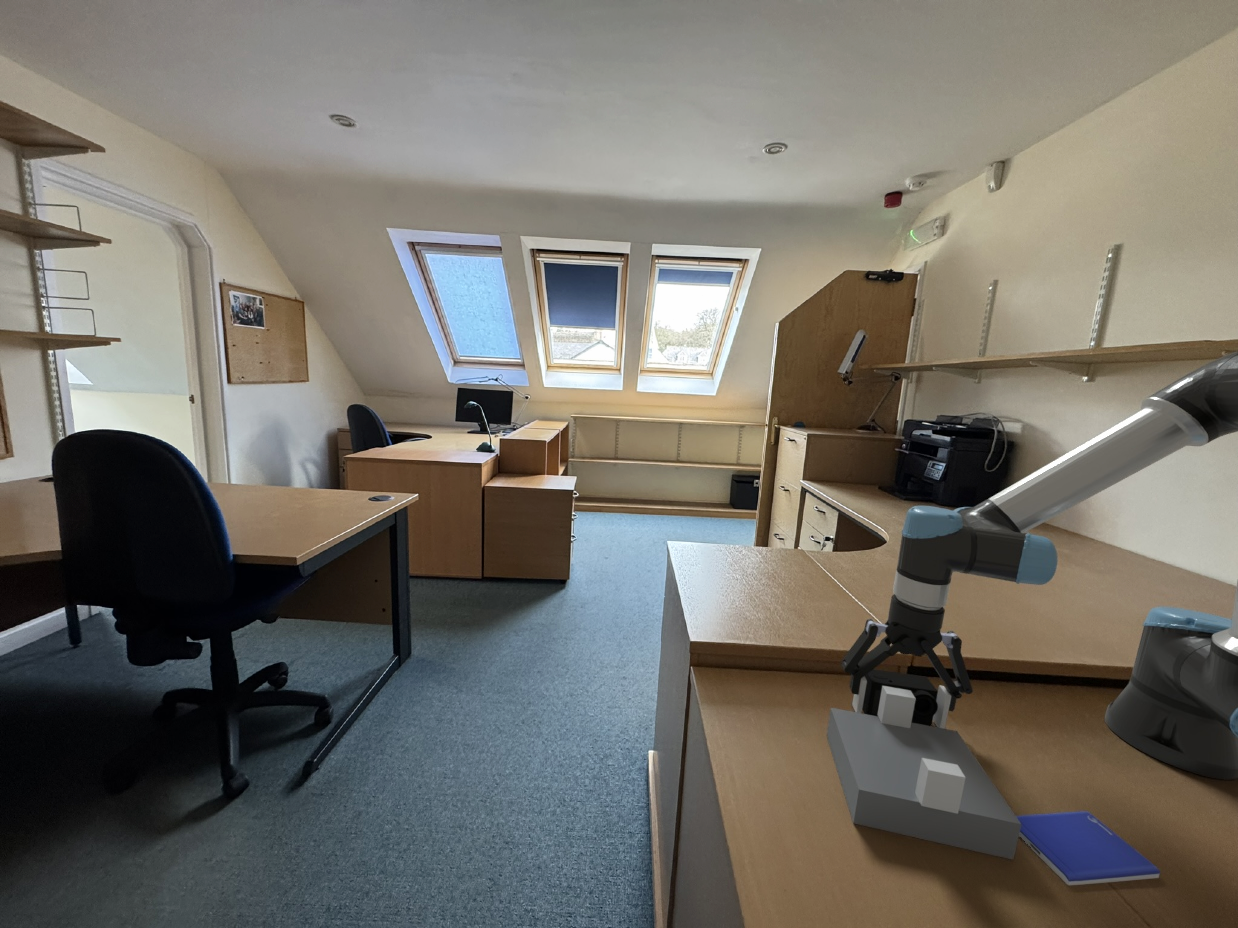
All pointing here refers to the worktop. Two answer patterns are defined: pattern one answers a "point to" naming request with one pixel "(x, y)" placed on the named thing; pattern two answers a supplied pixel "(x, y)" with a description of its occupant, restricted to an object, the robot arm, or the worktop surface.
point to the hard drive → (1083, 849)
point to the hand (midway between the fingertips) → (896, 717)
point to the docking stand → (918, 779)
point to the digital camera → (917, 685)
